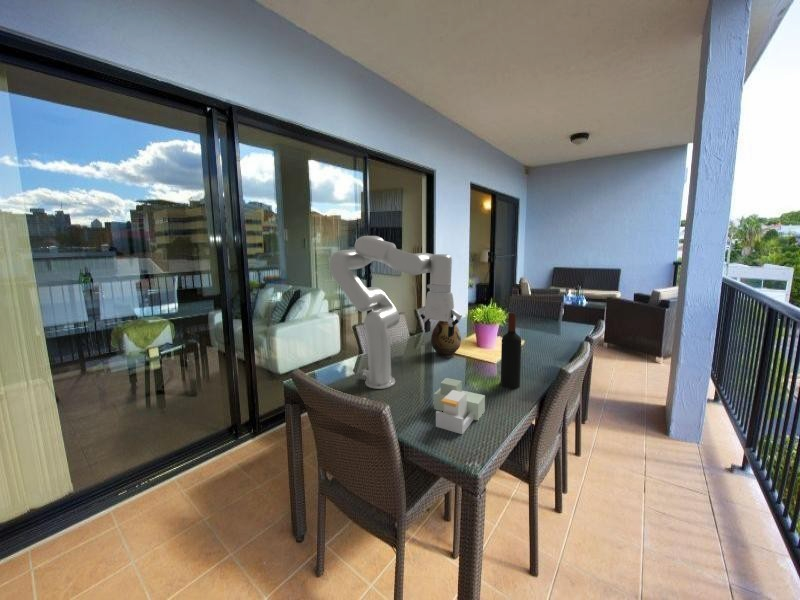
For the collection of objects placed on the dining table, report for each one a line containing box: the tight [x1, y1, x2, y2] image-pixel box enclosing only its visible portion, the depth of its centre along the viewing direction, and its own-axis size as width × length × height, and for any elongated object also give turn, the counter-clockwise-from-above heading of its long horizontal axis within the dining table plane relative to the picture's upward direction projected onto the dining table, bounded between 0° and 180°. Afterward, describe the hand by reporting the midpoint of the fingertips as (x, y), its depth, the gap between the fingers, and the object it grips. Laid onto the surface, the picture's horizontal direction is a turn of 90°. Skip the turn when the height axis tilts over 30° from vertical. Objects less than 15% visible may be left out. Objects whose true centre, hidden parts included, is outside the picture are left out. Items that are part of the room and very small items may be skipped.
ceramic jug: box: [430, 320, 462, 359], centre depth 176 cm, size 17×15×30 cm
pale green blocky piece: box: [433, 377, 486, 435], centre depth 114 cm, size 16×17×10 cm
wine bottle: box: [500, 311, 522, 390], centre depth 136 cm, size 8×8×30 cm
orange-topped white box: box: [441, 390, 467, 420], centre depth 110 cm, size 5×9×9 cm, turn 147°
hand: (438, 334), depth 127 cm, fingers open, 9 cm apart
